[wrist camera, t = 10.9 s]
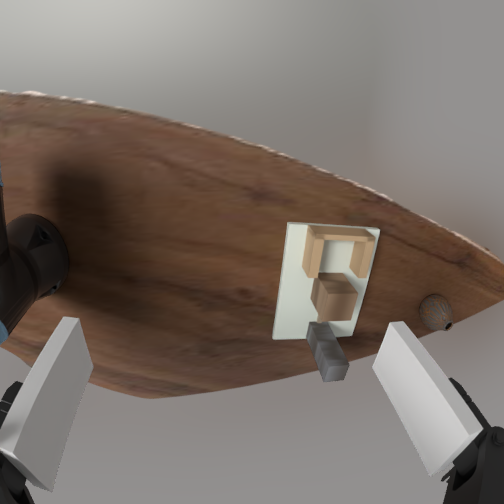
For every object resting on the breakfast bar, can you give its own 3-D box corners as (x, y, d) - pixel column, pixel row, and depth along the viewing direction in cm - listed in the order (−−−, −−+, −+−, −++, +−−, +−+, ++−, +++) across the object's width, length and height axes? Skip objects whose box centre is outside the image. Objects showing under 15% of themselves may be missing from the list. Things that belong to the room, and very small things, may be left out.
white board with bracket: (272, 336, 55) (276, 353, 50) (287, 221, 47) (295, 232, 42) (350, 332, 57) (359, 348, 52) (377, 227, 49) (391, 238, 44)
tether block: (302, 336, 55) (319, 382, 44) (315, 272, 49) (340, 312, 38) (327, 335, 55) (347, 379, 44) (342, 272, 50) (372, 311, 39)
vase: (409, 316, 58) (430, 340, 50) (422, 288, 55) (445, 311, 47) (431, 317, 59) (451, 339, 51) (443, 290, 56) (466, 311, 48)
